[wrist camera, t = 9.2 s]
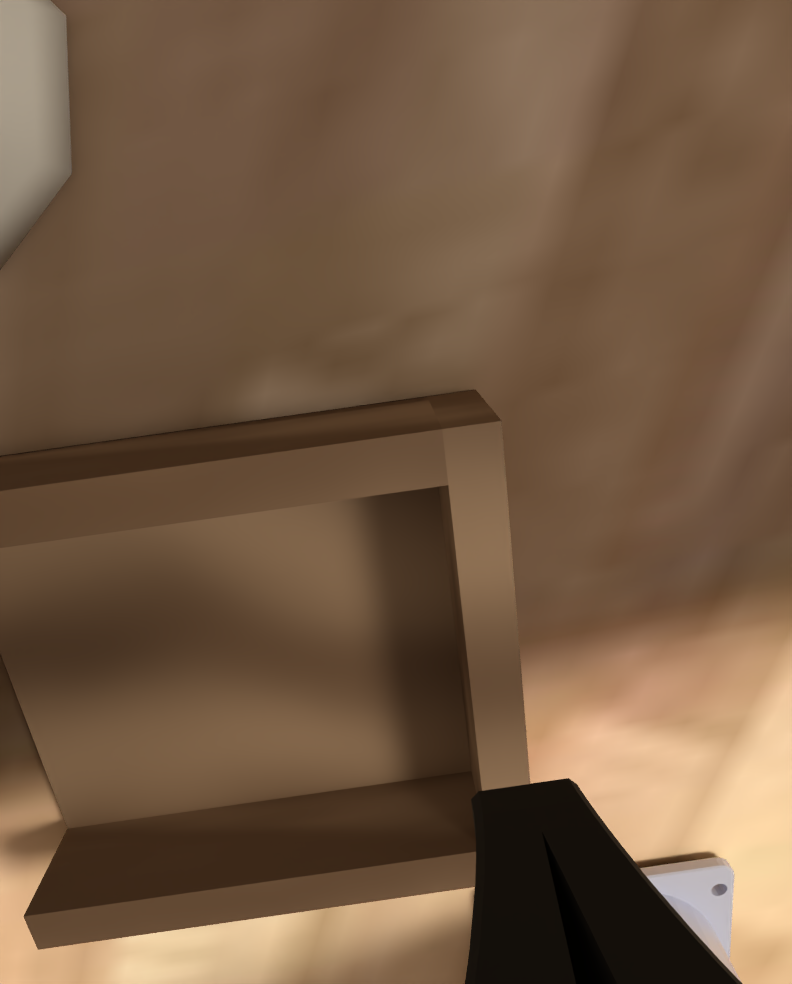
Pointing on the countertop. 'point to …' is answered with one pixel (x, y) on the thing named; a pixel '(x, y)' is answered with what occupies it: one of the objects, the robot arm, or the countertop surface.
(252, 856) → the box
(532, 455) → the countertop surface
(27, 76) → the flask
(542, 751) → the countertop surface
